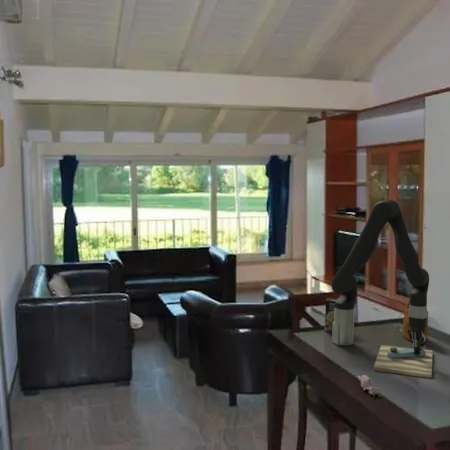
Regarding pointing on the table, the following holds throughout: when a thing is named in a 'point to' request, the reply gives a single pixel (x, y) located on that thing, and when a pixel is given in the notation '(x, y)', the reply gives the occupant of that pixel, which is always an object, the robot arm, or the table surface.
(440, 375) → the table surface
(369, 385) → the rabbit figure
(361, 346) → the table surface
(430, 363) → the pivot board
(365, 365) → the table surface
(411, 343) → the block
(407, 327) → the coffee package
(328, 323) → the coffee box
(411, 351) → the link
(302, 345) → the table surface
